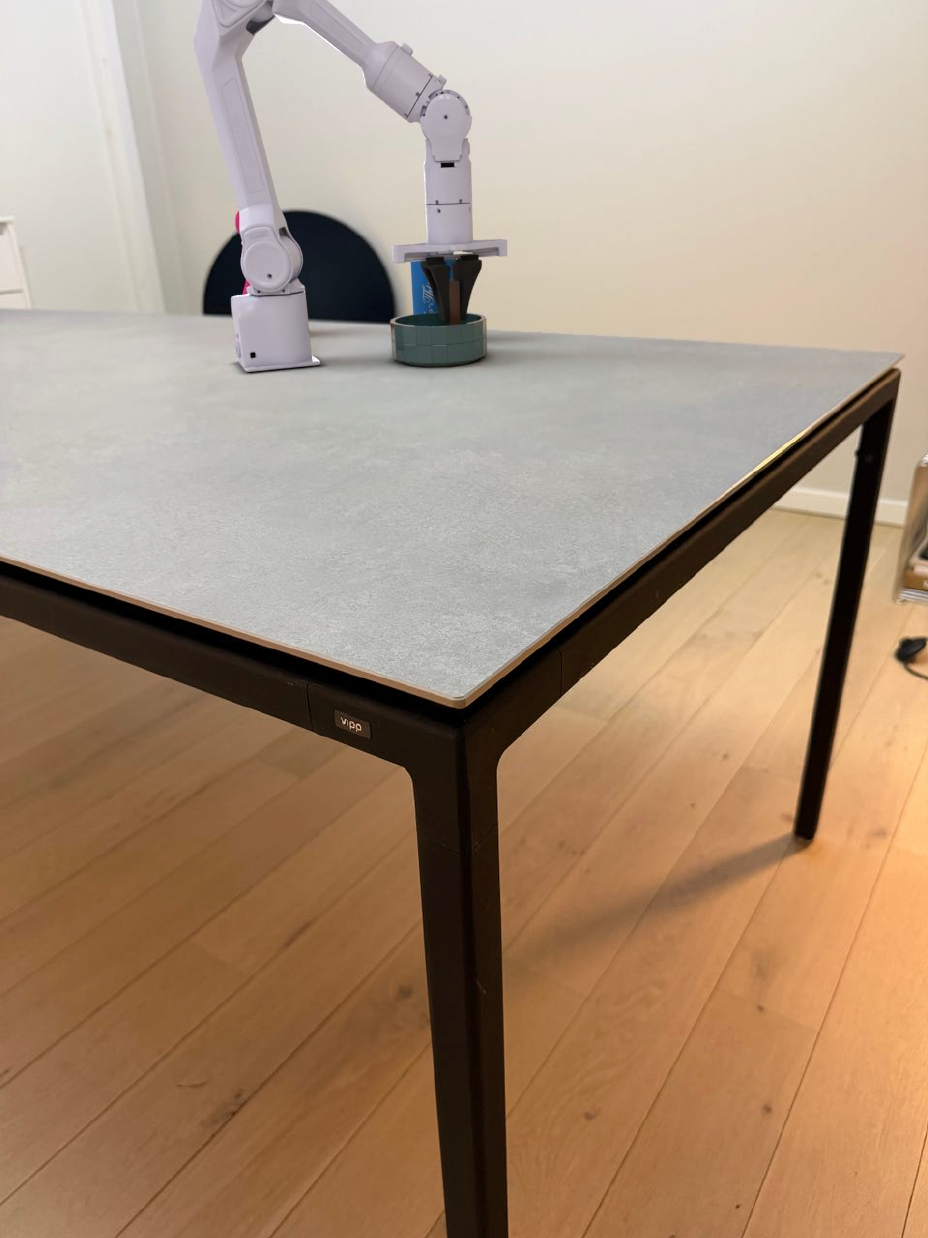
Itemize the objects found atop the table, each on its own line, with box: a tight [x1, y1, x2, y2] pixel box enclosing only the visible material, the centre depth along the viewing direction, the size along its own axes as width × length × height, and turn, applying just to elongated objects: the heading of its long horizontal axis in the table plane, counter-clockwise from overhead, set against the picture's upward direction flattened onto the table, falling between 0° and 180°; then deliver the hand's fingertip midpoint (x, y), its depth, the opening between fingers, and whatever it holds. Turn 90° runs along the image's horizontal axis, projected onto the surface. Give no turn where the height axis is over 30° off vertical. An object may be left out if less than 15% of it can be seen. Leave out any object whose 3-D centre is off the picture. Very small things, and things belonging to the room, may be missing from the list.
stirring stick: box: [445, 279, 461, 325], centre depth 117 cm, size 2×2×8 cm
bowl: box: [389, 312, 488, 368], centre depth 118 cm, size 12×12×5 cm
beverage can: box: [410, 251, 457, 314], centre depth 129 cm, size 6×6×12 cm
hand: (452, 319), depth 118 cm, fingers closed on stirring stick, 1 cm apart
